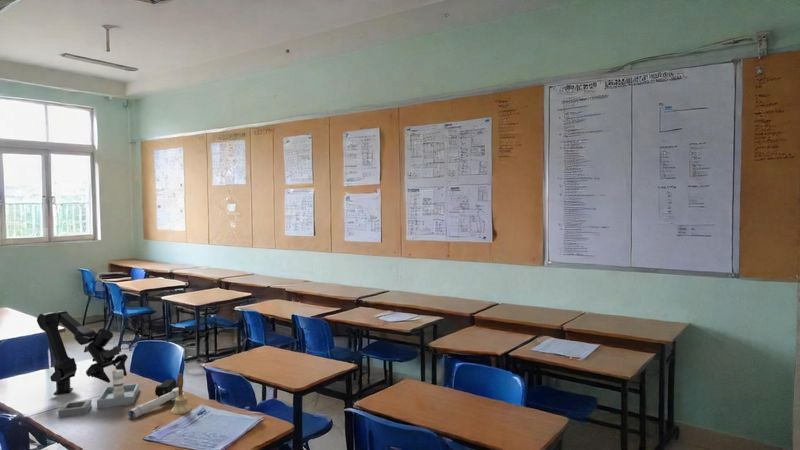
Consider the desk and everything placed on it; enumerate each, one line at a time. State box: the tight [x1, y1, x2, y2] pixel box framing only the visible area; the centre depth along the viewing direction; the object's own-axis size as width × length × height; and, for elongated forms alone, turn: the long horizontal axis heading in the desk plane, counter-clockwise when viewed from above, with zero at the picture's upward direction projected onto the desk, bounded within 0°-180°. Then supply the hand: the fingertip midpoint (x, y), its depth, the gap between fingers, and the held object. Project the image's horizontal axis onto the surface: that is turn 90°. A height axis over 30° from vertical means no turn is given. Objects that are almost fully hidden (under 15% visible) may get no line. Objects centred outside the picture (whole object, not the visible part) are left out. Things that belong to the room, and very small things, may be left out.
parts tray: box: [96, 383, 140, 409], centre depth 235 cm, size 18×14×4 cm
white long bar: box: [127, 386, 185, 420], centre depth 224 cm, size 5×7×25 cm
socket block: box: [57, 399, 92, 419], centre depth 221 cm, size 10×10×3 cm
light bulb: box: [112, 369, 125, 398], centre depth 235 cm, size 4×4×12 cm
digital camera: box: [154, 379, 177, 403], centre depth 236 cm, size 10×5×7 cm, turn 3°
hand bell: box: [170, 373, 192, 415], centre depth 222 cm, size 8×8×16 cm
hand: (117, 378), depth 235 cm, fingers open, 9 cm apart
